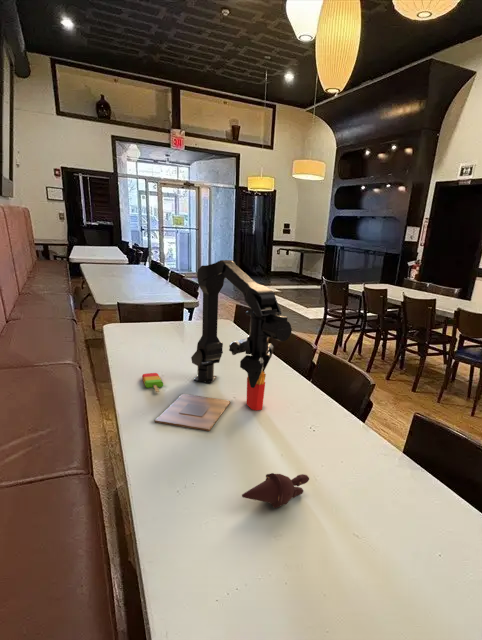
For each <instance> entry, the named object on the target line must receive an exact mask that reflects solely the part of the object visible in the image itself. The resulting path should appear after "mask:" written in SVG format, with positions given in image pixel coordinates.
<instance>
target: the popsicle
mask: <svg viewBox="0 0 482 640" xmlns="http://www.w3.org/2000/svg"><path fill="white" fill-rule="evenodd" d="M141 379H142V381H143V383H144V386H145V388H146V389H148V388H149V389H150V388H151V389H152V388H154V391H155V393H159V392H160V390H159V388H160V387H161V388H163V386H164V382H163V380H162V379H161V377H160V375H159V373H157V372H149V373H148V372H147V373H142V375H141Z"/></svg>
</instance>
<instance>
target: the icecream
mask: <svg viewBox="0 0 482 640" xmlns="http://www.w3.org/2000/svg"><path fill="white" fill-rule="evenodd" d="M309 480H310V477H309V476H308V474H305V473H302V474H298V475H297V476H295V477H293V478H292V479H291V478H290V477H289V476H286V475H284V474H282V473H274V472H271V473H267V474H265V480H264V481H262V482H260V483H258V484H257V485H256V486H253V487H252V488H251V489H249V490H247V491H246V492H244V493H242V494H241V498H243V499H250V500H254V501H260V502H264V503H269V504H271V506H272V507H273V508H274V509H278V508H280V507H281V506H284V505H285V506H286V505H288V503H289V502H290V501H291V500H292V499H294V498H295V497H297V496H301V495H302V494H304V488H303V487H300V486H302V485H305V484H307V483H308V482H309Z"/></svg>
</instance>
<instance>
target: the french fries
mask: <svg viewBox="0 0 482 640" xmlns="http://www.w3.org/2000/svg"><path fill="white" fill-rule="evenodd" d="M265 372H266V371H264V372H263V370H262V373H261V375H260V377H259V379H258V381H257V383H256V385H255V387H254V388H251V386H250V382H249V377H248V376H246V406H247V407H248V408H250V409H251V410H252V411H261V410H263V407H264V398H265V388H266V376H267V374H266V373H265Z"/></svg>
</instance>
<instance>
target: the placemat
mask: <svg viewBox="0 0 482 640" xmlns="http://www.w3.org/2000/svg"><path fill="white" fill-rule="evenodd" d="M230 404H231V400H227V399H220V398H212V397H207V396H200V395H194V394H188V393H181V394H180V396H179V397H178V398H176V399H175V400H174V401H173V402H172V403H171V404H170V405H169V406H167V408H166V409H165V410H164V411H163V412H162V413H160V414H159V415H158V417H156V418H155V419H154V423H158V424H162V425H170V426H176V427H181V428H189V429H192V430H200V431H206V432H210V431H211V430H212V428H213V427H214V426H215V424H216V423H217V422H218V420H219V419H220V418H221V416H222V415H223V414H224V412H225V410H226V409H227V408H228V406H229V405H230Z"/></svg>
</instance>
